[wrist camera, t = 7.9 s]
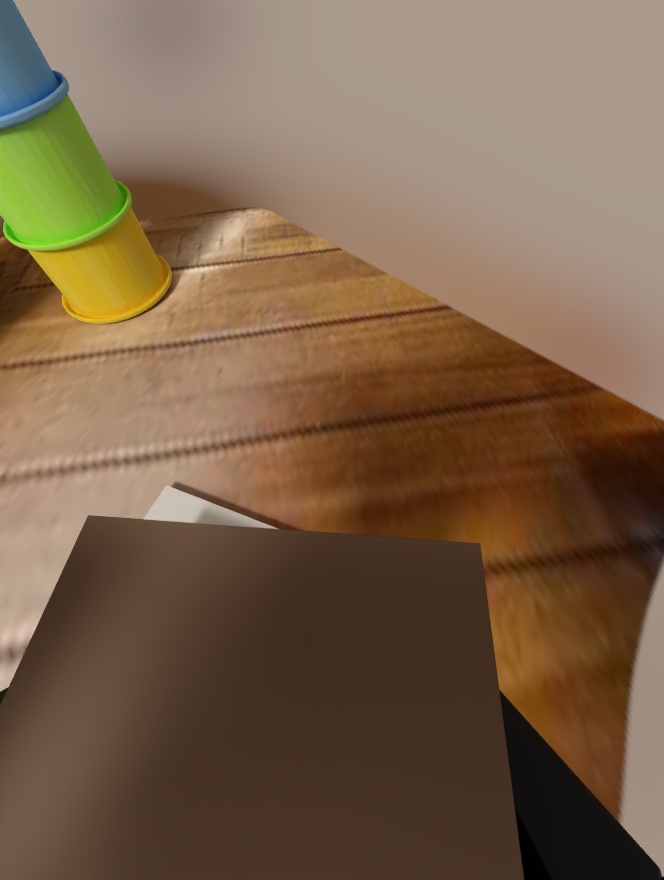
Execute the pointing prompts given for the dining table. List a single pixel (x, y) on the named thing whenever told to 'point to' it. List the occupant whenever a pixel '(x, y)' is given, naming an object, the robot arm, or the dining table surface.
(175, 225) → the dining table surface
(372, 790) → the walnut block
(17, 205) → the stacking cups
